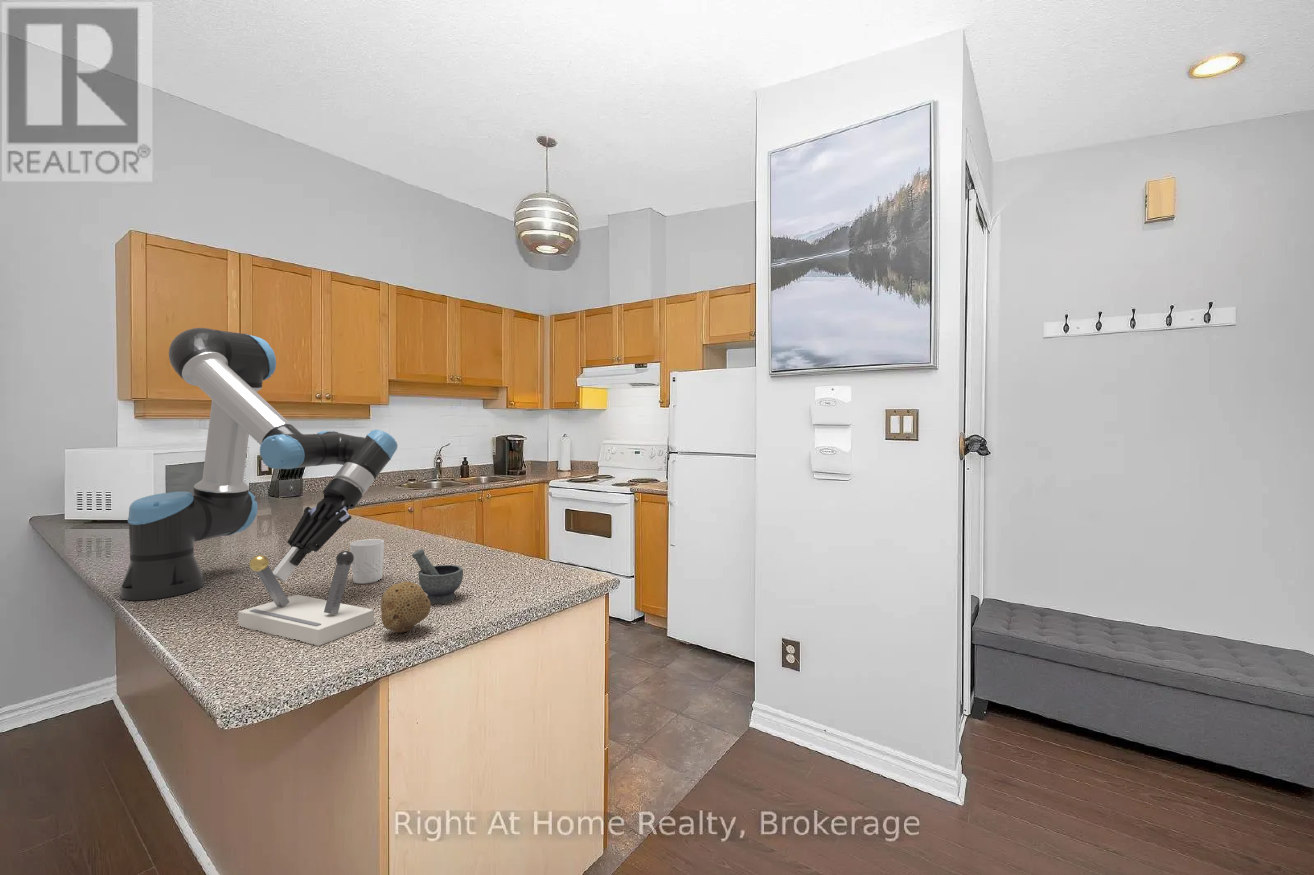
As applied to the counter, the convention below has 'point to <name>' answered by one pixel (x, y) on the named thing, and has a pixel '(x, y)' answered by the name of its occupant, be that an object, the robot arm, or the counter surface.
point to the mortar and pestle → (438, 579)
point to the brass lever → (268, 580)
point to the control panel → (306, 620)
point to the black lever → (338, 581)
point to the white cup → (367, 560)
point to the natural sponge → (404, 606)
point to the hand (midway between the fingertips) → (278, 577)
